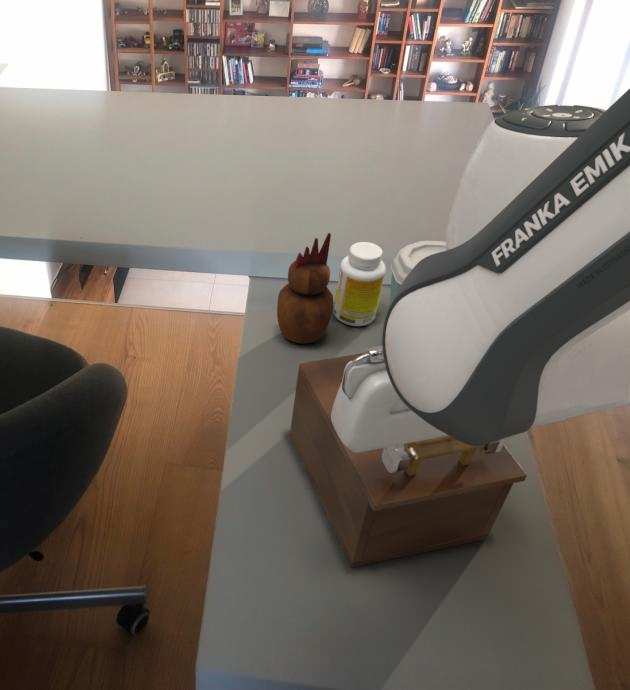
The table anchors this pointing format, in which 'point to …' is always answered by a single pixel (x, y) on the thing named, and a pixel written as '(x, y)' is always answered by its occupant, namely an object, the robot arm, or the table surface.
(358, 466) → the lid
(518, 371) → the robot arm
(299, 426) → the chest
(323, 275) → the wooden figurine
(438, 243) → the disposable coffee cup
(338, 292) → the supplement bottle
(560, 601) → the table surface
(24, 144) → the table surface
